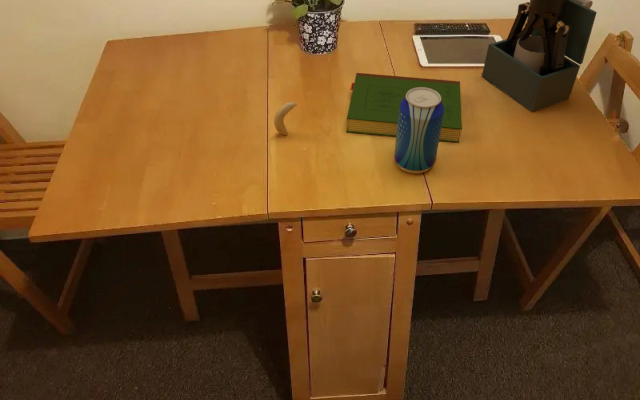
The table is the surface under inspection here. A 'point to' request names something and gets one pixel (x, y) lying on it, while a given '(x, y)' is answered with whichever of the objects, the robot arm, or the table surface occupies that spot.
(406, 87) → the hardcover book
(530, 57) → the cup
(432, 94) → the beer can
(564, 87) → the chest
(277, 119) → the fruit
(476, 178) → the table surface
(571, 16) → the lid
